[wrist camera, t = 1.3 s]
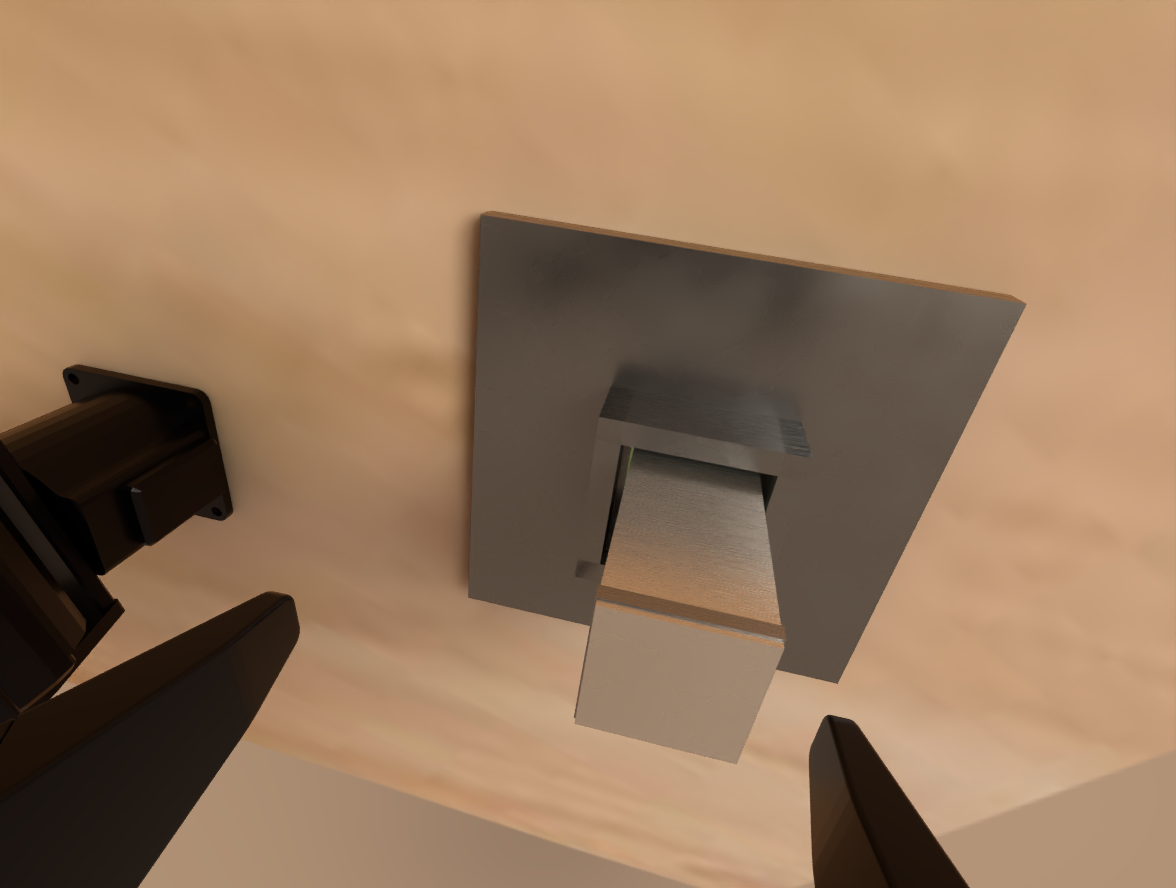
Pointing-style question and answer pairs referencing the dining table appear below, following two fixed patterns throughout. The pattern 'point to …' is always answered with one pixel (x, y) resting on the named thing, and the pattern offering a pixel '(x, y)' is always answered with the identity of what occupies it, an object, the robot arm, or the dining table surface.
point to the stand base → (713, 410)
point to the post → (684, 610)
